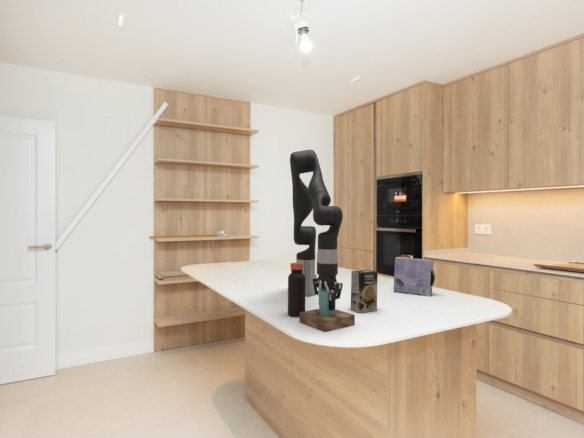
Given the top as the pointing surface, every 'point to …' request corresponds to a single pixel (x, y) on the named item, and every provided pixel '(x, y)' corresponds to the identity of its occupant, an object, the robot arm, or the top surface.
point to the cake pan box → (413, 276)
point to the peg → (324, 304)
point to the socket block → (326, 320)
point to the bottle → (296, 290)
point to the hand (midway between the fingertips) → (326, 308)
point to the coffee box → (364, 290)
